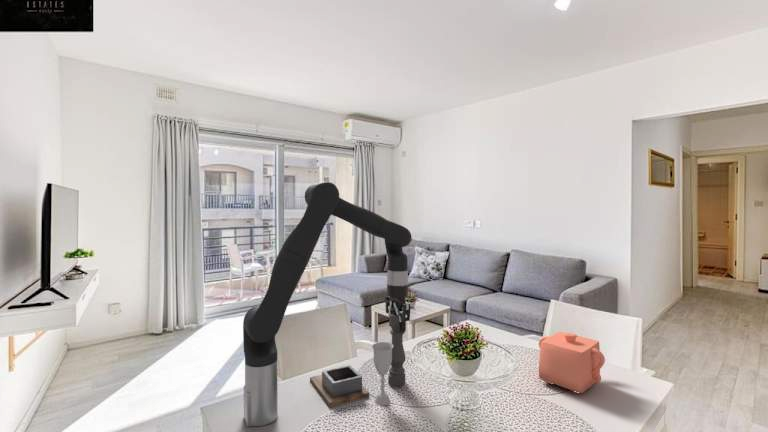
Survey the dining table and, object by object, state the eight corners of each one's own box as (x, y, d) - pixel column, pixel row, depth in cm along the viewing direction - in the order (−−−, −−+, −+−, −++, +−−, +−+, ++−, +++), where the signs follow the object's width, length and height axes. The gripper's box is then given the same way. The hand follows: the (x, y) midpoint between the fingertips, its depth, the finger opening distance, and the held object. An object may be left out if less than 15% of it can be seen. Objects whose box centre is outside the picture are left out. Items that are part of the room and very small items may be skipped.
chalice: (380, 393, 128) (380, 340, 128) (397, 399, 124) (397, 345, 124) (367, 402, 122) (367, 347, 122) (384, 408, 118) (384, 352, 118)
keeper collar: (332, 398, 121) (332, 383, 121) (321, 385, 131) (322, 370, 130) (362, 391, 126) (362, 376, 126) (349, 378, 136) (349, 365, 135)
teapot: (556, 361, 156) (557, 318, 156) (618, 380, 139) (619, 332, 139) (527, 379, 139) (528, 331, 139) (594, 403, 123) (595, 349, 122)
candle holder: (404, 388, 132) (404, 317, 131) (386, 386, 133) (387, 316, 132) (406, 380, 138) (407, 312, 137) (389, 378, 139) (390, 311, 138)
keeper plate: (329, 407, 119) (329, 402, 119) (309, 381, 137) (309, 377, 136) (369, 396, 126) (369, 392, 126) (345, 373, 143) (345, 369, 143)
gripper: (378, 280, 139) (378, 325, 139) (398, 287, 126) (398, 337, 127) (396, 278, 143) (396, 322, 143) (417, 285, 130) (417, 333, 130)
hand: (397, 328), depth 135 cm, fingers open, 6 cm apart
